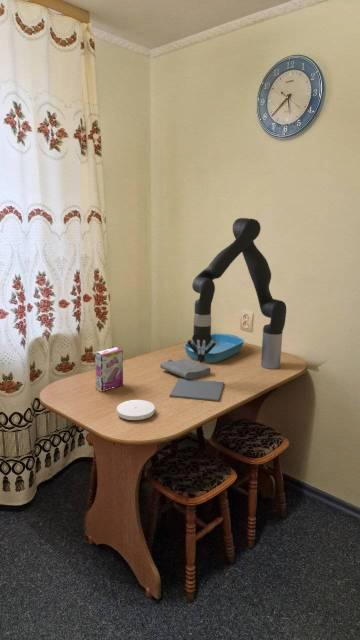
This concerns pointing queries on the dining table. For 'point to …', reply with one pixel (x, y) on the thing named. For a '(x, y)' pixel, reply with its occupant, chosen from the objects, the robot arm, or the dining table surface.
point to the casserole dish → (218, 348)
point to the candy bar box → (109, 368)
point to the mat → (197, 389)
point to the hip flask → (185, 368)
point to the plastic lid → (135, 409)
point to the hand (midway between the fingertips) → (201, 361)
